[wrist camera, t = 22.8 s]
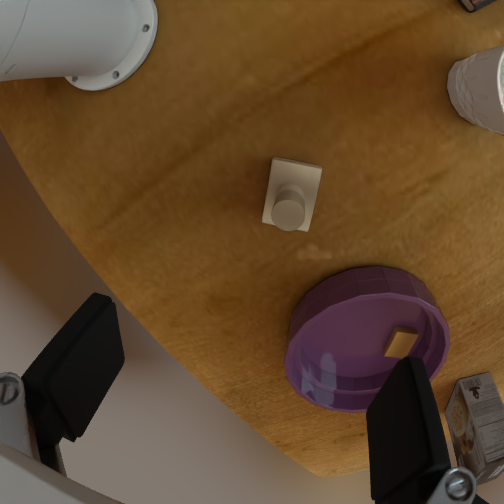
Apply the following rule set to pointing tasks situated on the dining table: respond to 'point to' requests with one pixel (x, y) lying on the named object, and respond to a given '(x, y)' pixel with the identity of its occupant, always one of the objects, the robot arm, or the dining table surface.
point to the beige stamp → (291, 194)
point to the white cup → (479, 88)
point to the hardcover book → (474, 4)
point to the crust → (400, 342)
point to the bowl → (359, 335)
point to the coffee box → (477, 426)
